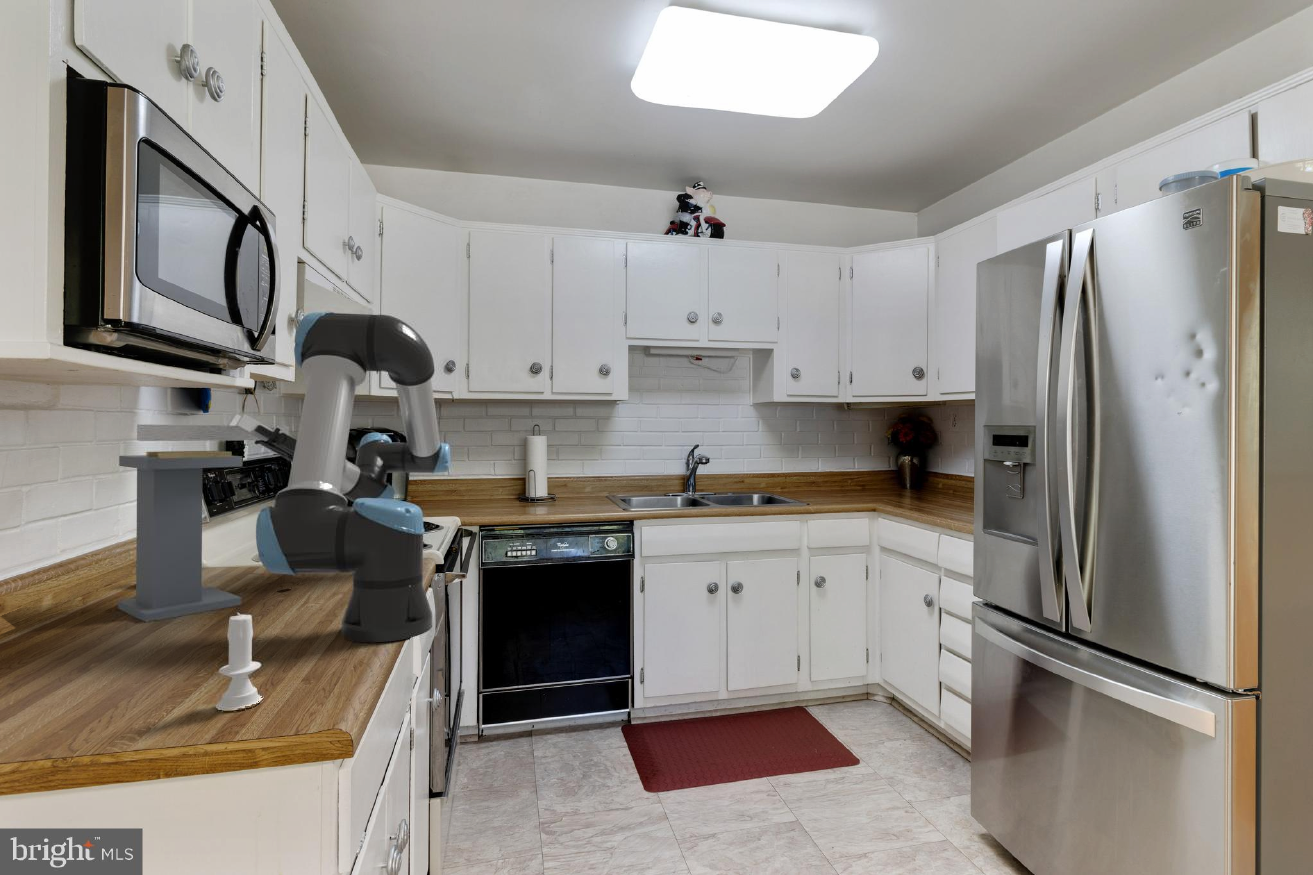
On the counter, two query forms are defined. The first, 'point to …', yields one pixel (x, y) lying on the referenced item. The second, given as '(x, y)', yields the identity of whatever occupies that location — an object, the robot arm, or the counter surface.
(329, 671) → the counter surface
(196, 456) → the bracket
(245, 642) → the candle
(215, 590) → the stand
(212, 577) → the counter surface
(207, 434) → the rod
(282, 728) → the counter surface
